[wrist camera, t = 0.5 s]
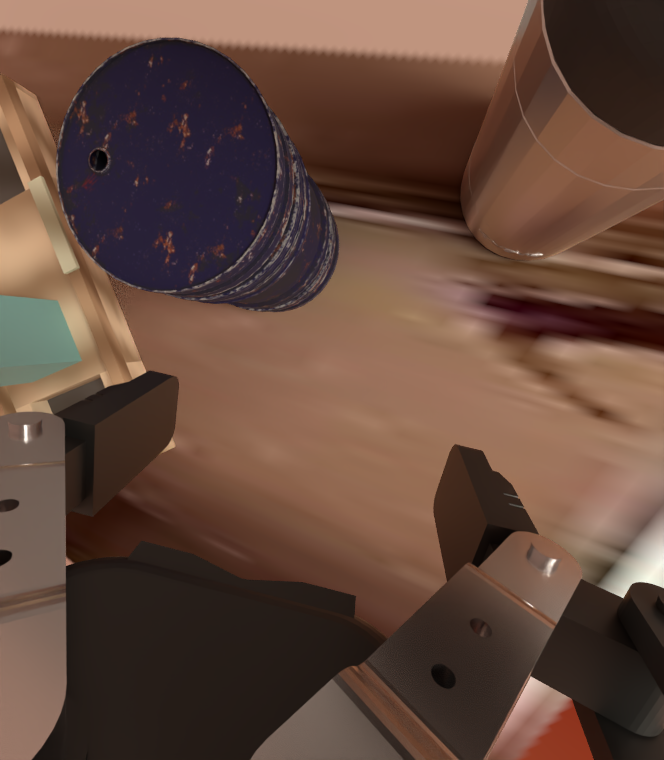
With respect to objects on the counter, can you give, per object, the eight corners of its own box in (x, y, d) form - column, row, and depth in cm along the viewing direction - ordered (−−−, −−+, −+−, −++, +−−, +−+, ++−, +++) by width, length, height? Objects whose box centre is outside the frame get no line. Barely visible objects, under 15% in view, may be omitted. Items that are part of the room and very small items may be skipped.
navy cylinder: (353, 188, 30) (304, 46, 15) (327, 324, 31) (260, 316, 16) (223, 169, 31) (64, 23, 17) (204, 300, 33) (41, 272, 18)
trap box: (176, 446, 34) (153, 457, 31) (59, 488, 37) (26, 503, 33) (37, 94, 33) (-3, 68, 30) (-76, 162, 35) (-124, 145, 32)
